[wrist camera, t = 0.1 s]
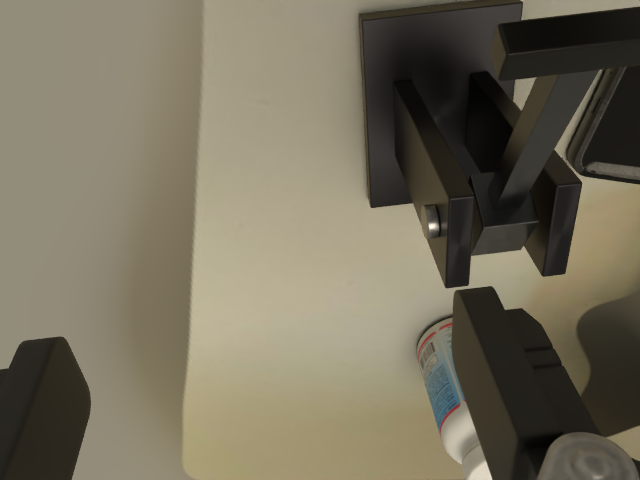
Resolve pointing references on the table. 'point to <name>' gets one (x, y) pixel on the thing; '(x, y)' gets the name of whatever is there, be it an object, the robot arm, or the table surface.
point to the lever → (543, 109)
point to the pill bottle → (450, 401)
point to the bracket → (451, 129)
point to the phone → (610, 129)
